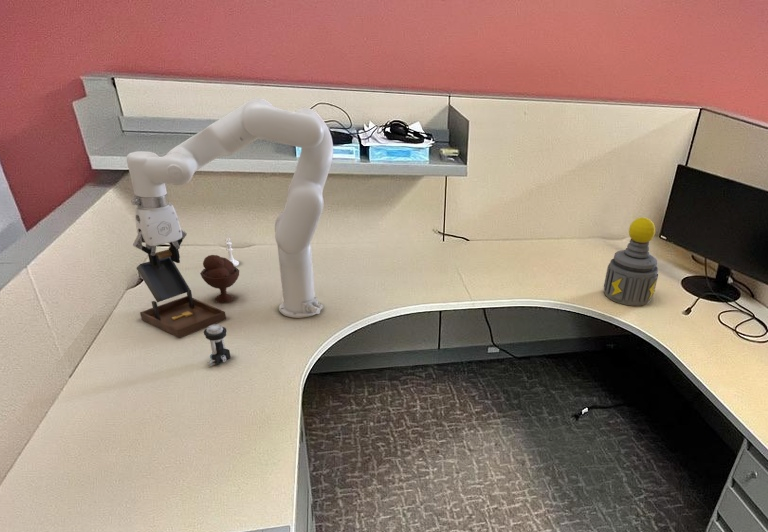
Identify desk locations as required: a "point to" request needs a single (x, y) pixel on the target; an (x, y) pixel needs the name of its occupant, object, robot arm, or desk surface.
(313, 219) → the robot arm
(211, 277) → the ice cream bowl
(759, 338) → the desk surface
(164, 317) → the tray
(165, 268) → the scoop
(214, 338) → the push button
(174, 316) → the key
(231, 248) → the chess piece
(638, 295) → the decorative lamp
